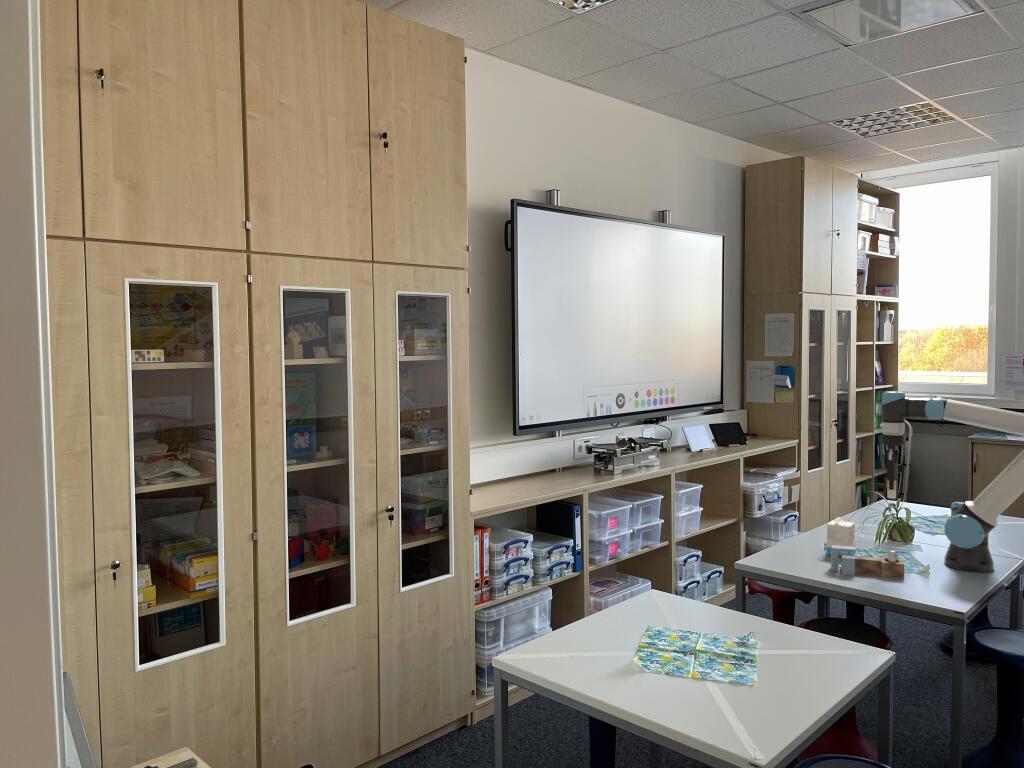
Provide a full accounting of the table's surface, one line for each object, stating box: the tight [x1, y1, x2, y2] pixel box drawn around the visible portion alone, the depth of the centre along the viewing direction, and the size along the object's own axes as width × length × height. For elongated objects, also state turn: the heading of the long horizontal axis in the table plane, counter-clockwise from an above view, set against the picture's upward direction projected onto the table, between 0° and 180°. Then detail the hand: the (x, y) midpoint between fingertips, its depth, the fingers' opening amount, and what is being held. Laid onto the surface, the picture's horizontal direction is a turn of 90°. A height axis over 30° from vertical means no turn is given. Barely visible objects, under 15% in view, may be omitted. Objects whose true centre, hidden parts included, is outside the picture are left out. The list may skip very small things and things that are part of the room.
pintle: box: [887, 549, 898, 563], centre depth 259 cm, size 3×3×8 cm
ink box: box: [826, 516, 856, 556], centre depth 286 cm, size 9×8×13 cm
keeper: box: [830, 545, 856, 576], centre depth 262 cm, size 8×8×8 cm
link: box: [840, 555, 905, 579], centre depth 261 cm, size 20×7×5 cm, turn 69°
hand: (891, 498), depth 270 cm, fingers closed
